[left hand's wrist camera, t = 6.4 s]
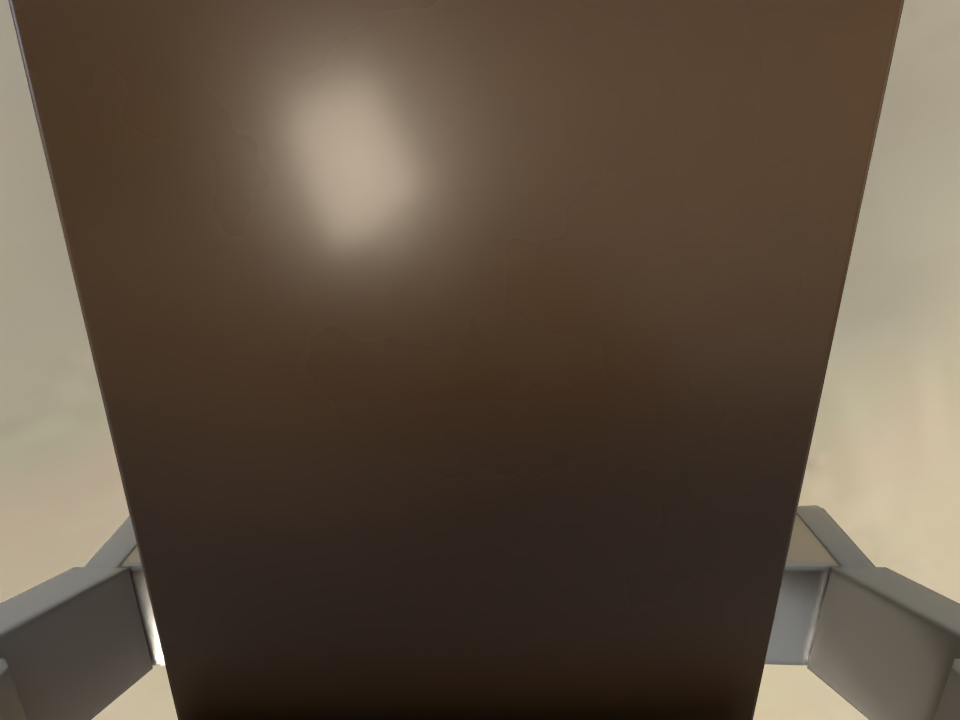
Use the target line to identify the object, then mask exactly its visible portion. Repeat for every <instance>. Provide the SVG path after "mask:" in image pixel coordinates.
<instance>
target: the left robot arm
mask: <svg viewBox="0 0 960 720" xmlns="http://www.w3.org/2000/svg"><path fill="white" fill-rule="evenodd" d="M765 664H778V665H808V667H807V668H808V669H809V670H810V671H812V672H813V673H814V674H815V675H816V676H818V677H819V678H820V679H821V680H822V681H824V682H825V683H826V684H827V685H828V686H830V687H831V688H832V689H833V690H834V691H836V692H837V693H838V694H839V695H840V696H841V697H843V698H844V699H845V700H846V701H847V702H849V703H850V704H851V705H852V706H853V707H855V708H856V709H857V710H858V711H859V712H861V713H862V714H863V715H864V716H865V717H867V718H868V719H869V720H960V604H959V603H957V602H955V601H953V600H951V599H949V598H947V597H945V596H943V595H941V594H939V593H937V592H935V591H933V590H931V589H929V588H927V587H925V586H923V585H921V584H919V583H916V582H914V581H912V580H910V579H908V578H906V577H904V576H902V575H900V574H898V573H896V572H894V571H892V570H890V569H888V568H886V567H875V566H874V564H873V563H872V562H871V561H870V560H869V559H868V558H867V557H866V555H865V554H864V553H863V552H862V551H861V550H860V549H859V548H858V547H857V545H856V544H855V543H854V542H853V541H852V540H851V539H850V538H849V536H848V535H847V534H846V533H845V532H844V531H843V530H842V529H841V527H840V526H839V525H838V524H837V523H836V522H835V521H834V520H833V518H832V517H831V516H830V515H829V514H828V513H827V512H826V511H825V510H824V509H823V508H821V507H819V506H817V505H811V506H798V507H797V512H796V517H795V521H794V526H793V531H792V535H791V540H790V545H789V550H788V554H787V559H786V564H785V569H784V573H783V578H782V583H781V588H780V592H779V597H778V602H777V607H776V611H775V616H774V621H773V626H772V630H771V635H770V640H769V645H768V649H767V654H766V659H765ZM152 665H165V661H164V657H163V653H162V649H161V644H160V640H159V636H158V632H157V628H156V623H155V619H154V615H153V611H152V606H151V602H150V598H149V594H148V589H147V585H146V581H145V577H144V572H143V568H142V564H141V560H140V555H139V551H138V547H137V543H136V539H135V534H134V530H133V526H132V522H131V517H130V516H129V517H128V518H127V520H126V521H125V522H124V523H123V524H122V525H121V526H120V527H119V529H118V530H117V531H116V532H115V533H114V534H113V535H112V536H111V538H110V539H109V540H108V541H107V542H106V543H105V544H104V545H103V546H102V548H101V549H100V550H99V551H98V552H97V553H96V554H95V555H94V557H93V558H92V559H91V560H90V561H89V562H88V563H87V564H86V566H85V567H74V568H72V569H70V570H68V571H66V572H64V573H62V574H60V575H58V576H56V577H54V578H52V579H49V580H47V581H45V582H43V583H41V584H39V585H37V586H35V587H33V588H31V589H29V590H27V591H25V592H23V593H21V594H19V595H17V596H15V597H13V598H11V599H9V600H7V601H5V602H3V603H1V604H0V720H91V719H92V718H94V717H95V716H96V715H97V714H98V713H100V712H101V711H102V710H103V709H104V708H106V707H107V706H108V705H109V704H110V703H112V702H113V701H114V700H115V699H116V698H118V697H119V696H120V695H121V694H122V693H124V692H125V691H126V690H127V689H128V688H130V687H131V686H132V685H133V684H134V683H136V682H137V681H138V680H139V679H140V678H142V677H143V676H144V675H145V674H146V673H148V672H149V671H150V670H151V669H152V668H153V667H152Z"/></svg>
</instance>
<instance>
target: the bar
mask: <svg viewBox="0 0 960 720" xmlns="http://www.w3.org/2000/svg"><path fill="white" fill-rule="evenodd" d="M903 4H904V0H9V5H10V9H11V13H12V17H13V21H14V26H15V30H16V34H17V38H18V43H19V47H20V51H21V55H22V60H23V64H24V68H25V72H26V77H27V81H28V85H29V89H30V94H31V98H32V102H33V106H34V110H35V115H36V119H37V123H38V127H39V132H40V136H41V140H42V144H43V149H44V153H45V157H46V161H47V166H48V170H49V174H50V178H51V183H52V187H53V191H54V195H55V199H56V204H57V208H58V212H59V216H60V221H61V225H62V229H63V233H64V238H65V242H66V246H67V250H68V255H69V259H70V263H71V267H72V272H73V276H74V280H75V284H76V288H77V293H78V297H79V301H80V305H81V310H82V314H83V318H84V322H85V327H86V331H87V335H88V339H89V344H90V348H91V352H92V356H93V361H94V365H95V369H96V373H97V377H98V382H99V386H100V390H101V394H102V399H103V403H104V407H105V411H106V416H107V420H108V424H109V428H110V433H111V437H112V441H113V445H114V450H115V454H116V458H117V462H118V466H119V471H120V475H121V479H122V483H123V488H124V492H125V496H126V500H127V505H128V509H129V513H130V517H131V522H132V526H133V530H134V534H135V539H136V543H137V547H138V551H139V555H140V560H141V564H142V568H143V572H144V577H145V581H146V585H147V589H148V594H149V598H150V602H151V606H152V611H153V615H154V619H155V623H156V628H157V632H158V636H159V640H160V644H161V649H162V653H163V657H164V661H165V666H166V670H167V674H168V678H169V683H170V687H171V691H172V695H173V700H174V704H175V708H176V712H177V717H178V720H753V716H754V711H755V706H756V702H757V697H758V692H759V687H760V683H761V678H762V673H763V668H764V664H765V659H766V654H767V649H768V645H769V640H770V635H771V630H772V626H773V621H774V616H775V611H776V607H777V602H778V597H779V592H780V588H781V583H782V578H783V573H784V569H785V564H786V559H787V554H788V550H789V545H790V540H791V535H792V531H793V526H794V521H795V517H796V512H797V507H798V502H799V498H800V493H801V488H802V483H803V479H804V474H805V469H806V464H807V460H808V455H809V450H810V445H811V441H812V436H813V431H814V426H815V422H816V417H817V412H818V407H819V403H820V398H821V393H822V388H823V384H824V379H825V374H826V369H827V365H828V360H829V355H830V350H831V346H832V341H833V336H834V331H835V327H836V322H837V317H838V312H839V308H840V303H841V298H842V293H843V289H844V284H845V279H846V274H847V270H848V265H849V260H850V255H851V251H852V246H853V241H854V236H855V232H856V227H857V222H858V217H859V213H860V208H861V203H862V198H863V194H864V189H865V184H866V179H867V175H868V170H869V165H870V160H871V156H872V151H873V146H874V141H875V137H876V132H877V127H878V123H879V118H880V113H881V108H882V104H883V99H884V94H885V89H886V85H887V80H888V75H889V70H890V66H891V61H892V56H893V51H894V47H895V42H896V37H897V32H898V28H899V23H900V18H901V13H902V9H903Z"/></svg>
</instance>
